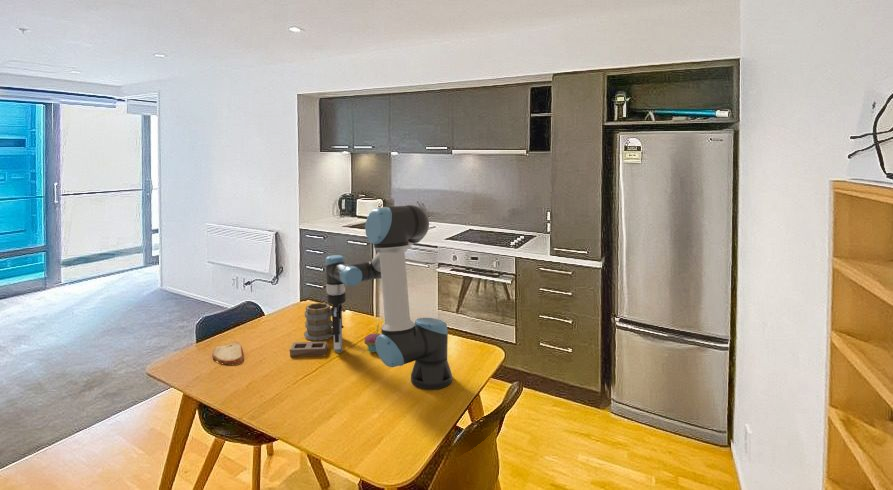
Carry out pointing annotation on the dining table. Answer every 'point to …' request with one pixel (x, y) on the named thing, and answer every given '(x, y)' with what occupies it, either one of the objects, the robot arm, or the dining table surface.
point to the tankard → (319, 321)
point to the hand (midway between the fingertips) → (338, 346)
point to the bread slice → (228, 353)
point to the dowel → (341, 340)
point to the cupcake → (372, 340)
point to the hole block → (308, 349)
